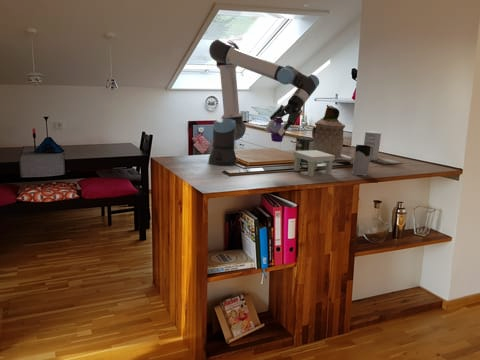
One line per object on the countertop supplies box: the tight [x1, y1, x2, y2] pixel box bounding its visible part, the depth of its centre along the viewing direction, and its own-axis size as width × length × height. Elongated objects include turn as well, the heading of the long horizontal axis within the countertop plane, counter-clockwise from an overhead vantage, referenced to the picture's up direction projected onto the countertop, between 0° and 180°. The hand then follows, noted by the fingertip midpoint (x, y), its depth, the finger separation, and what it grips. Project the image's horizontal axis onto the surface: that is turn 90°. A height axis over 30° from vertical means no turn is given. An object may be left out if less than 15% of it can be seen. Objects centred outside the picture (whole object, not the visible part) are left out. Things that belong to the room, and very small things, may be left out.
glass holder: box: [351, 144, 373, 176], centre depth 241 cm, size 9×14×15 cm, turn 135°
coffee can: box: [294, 136, 315, 165], centre depth 260 cm, size 10×10×14 cm
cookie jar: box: [311, 104, 352, 161], centre depth 280 cm, size 25×25×32 cm
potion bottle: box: [269, 117, 287, 143], centre depth 229 cm, size 9×9×12 cm
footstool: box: [292, 150, 336, 177], centre depth 237 cm, size 15×15×10 cm
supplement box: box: [363, 130, 382, 161], centre depth 284 cm, size 10×9×17 cm
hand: (273, 132), depth 227 cm, fingers closed on potion bottle, 8 cm apart
